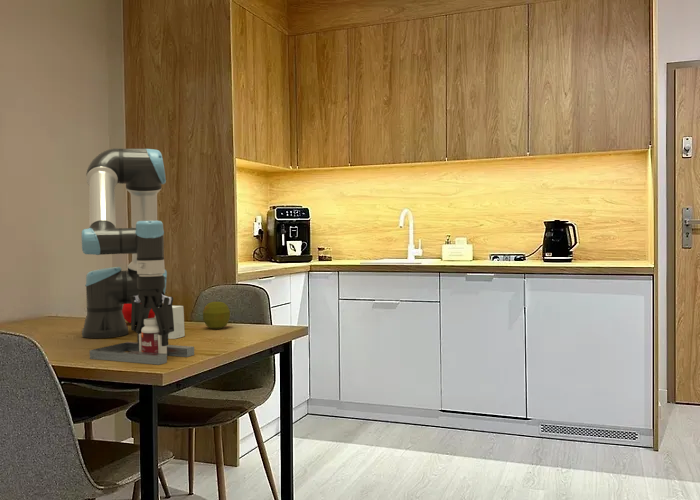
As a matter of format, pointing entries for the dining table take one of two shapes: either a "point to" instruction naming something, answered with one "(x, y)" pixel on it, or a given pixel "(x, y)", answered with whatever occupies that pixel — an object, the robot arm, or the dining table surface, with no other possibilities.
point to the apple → (216, 315)
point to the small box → (177, 323)
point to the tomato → (128, 310)
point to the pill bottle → (150, 335)
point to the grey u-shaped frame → (138, 353)
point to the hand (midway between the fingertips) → (153, 356)
